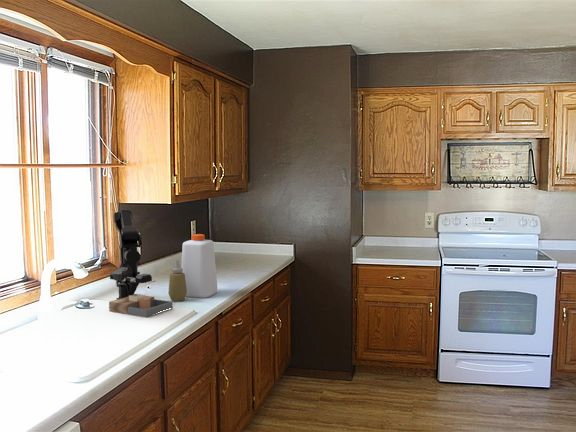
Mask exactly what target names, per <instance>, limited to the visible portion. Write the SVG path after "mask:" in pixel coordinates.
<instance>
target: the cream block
mask: <svg viewBox="0 0 576 432" xmlns="http://www.w3.org/2000/svg"><path fill="white" fill-rule="evenodd" d="M145 296H146V294H143V293H142V294H141V293H134V294H133V295H130V296H129V301H136V302H138V301H139V300H141V299H144V298H145Z"/></svg>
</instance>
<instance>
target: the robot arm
mask: <svg viewBox="0 0 576 432" xmlns="http://www.w3.org/2000/svg"><path fill="white" fill-rule="evenodd" d="M112 217H113V221H112V222H113V223H114V227H115V229H116V230H117V231H118V234H119V235H118V237H119V238H118V239H119V254H120V265H119V267H118V268H117V269H116V270H114V271H112V272H111V273H110V274H109V279H110V280H114V281H115V286H116V287H117V288H118V297H116V299H115V300H118V299H121V298H125V297H129V296H130V295H133V294H136V293H135V292H136V291H137V288H138V286H139V285H140V284H146V283H149V282H152V281H153V277H152V274H149V273H142V274H141V272H140V271H138V266H140V263H141V262H139V261H140V260H141V253H140V252H139V250H138V248H141V247H142V245H143V244H142V243H143V241H142V237H141V234H140V232H139V231H138V229H137V227H135V226H134V225H133V223H134V219H135V218H134V212H133V211H132V210H131V209H120V210H118V211H116V212H114V213H113V215H112Z"/></svg>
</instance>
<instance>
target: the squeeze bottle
mask: <svg viewBox="0 0 576 432" xmlns="http://www.w3.org/2000/svg"><path fill="white" fill-rule="evenodd" d="M174 263H175V264H174V267H173V268H171V273H170V275H169V279H168V280H169V282H168V295H169V298H170V300H171V302H176V303H177V302H184V301H185V299H186V298H187V297H186V293H187V288H186V280H185V274H184V273H182V272H183V268H181V266H180V262H179V259H175V262H174Z"/></svg>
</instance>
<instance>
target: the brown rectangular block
mask: <svg viewBox="0 0 576 432" xmlns="http://www.w3.org/2000/svg"><path fill="white" fill-rule="evenodd" d="M145 298H150V300H153V299H155V296H151V295H145ZM108 302H109V303H108V305H109V306H108V307H109V308H108V309H109V310H108V311H109V312H111V313H112V312H113V313H118V314H123V315H129V314H128V307H130V306H133V305H136V304H139V301H138V302H136V301H129V297H125V298H121V299H118V300H117V299H115V300H110V301H108Z"/></svg>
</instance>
